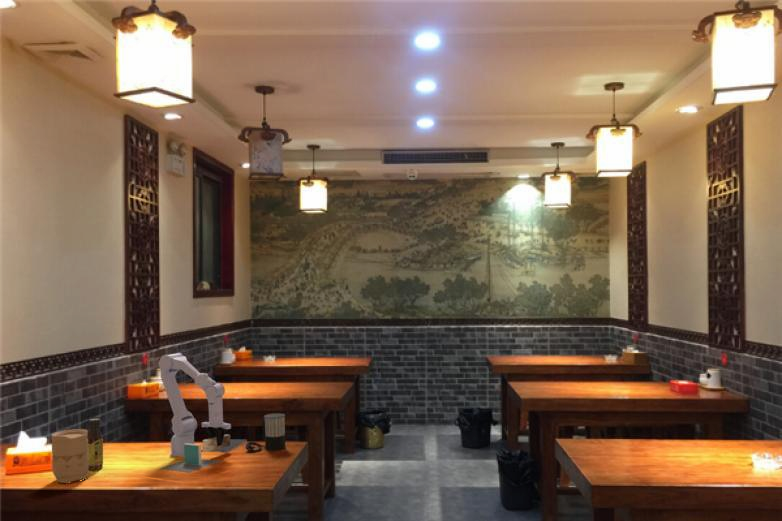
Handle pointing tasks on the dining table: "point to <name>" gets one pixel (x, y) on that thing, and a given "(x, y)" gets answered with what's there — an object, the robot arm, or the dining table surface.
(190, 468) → the slate mat
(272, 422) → the milk frother
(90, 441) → the sauce bottle
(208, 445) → the long wooden beam
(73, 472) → the container
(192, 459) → the tile
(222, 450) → the notebook
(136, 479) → the dining table surface
